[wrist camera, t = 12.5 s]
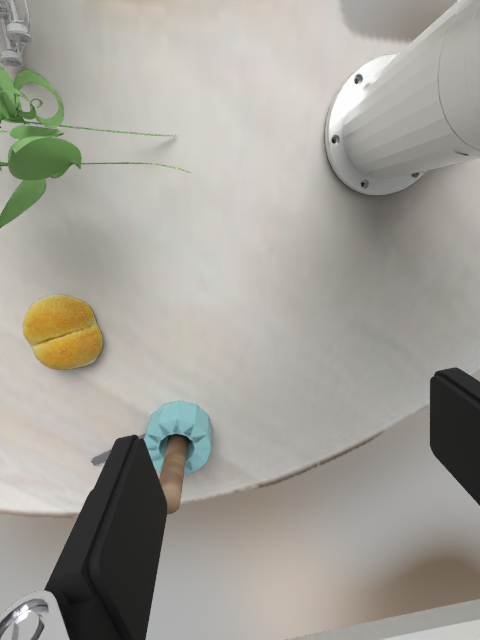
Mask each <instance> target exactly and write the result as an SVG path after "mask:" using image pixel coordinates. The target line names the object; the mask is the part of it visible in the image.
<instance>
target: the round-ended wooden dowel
mask: <svg viewBox="0 0 480 640" xmlns="http://www.w3.org/2000/svg"><path fill="white" fill-rule="evenodd" d="M188 440H189V438H188V437H187V436H185V435H181V434H172V435H169V438H168V443H167V447H166V452H165V456H164V461H163V465H162V470H161V474H160V478H159V481H160V484H161V487H162V489H163V492H164V495H165V497H166V500H167V514H171V513H174V512H176V511H177V510H178V509H179V506H180V499H181V492H182V484H183V477H184V470H185V462H186V455H187V447H188Z"/></svg>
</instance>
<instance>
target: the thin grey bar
mask: <svg viewBox="0 0 480 640" xmlns="http://www.w3.org/2000/svg"><path fill="white" fill-rule="evenodd" d="M138 438H139V439H140V438H143V439H144V438H145V434H144V435H142V436H140V437H138ZM110 452H111V450H110V451H108V452H105V453H103V454H101V455H99V456H97V457H95V458H93V459H92V461H91V462H92V463H93V465H94V466H95V465H97V464H99V463H101V462H103V461H106V460H107V459H108V456H109V454H110Z"/></svg>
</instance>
